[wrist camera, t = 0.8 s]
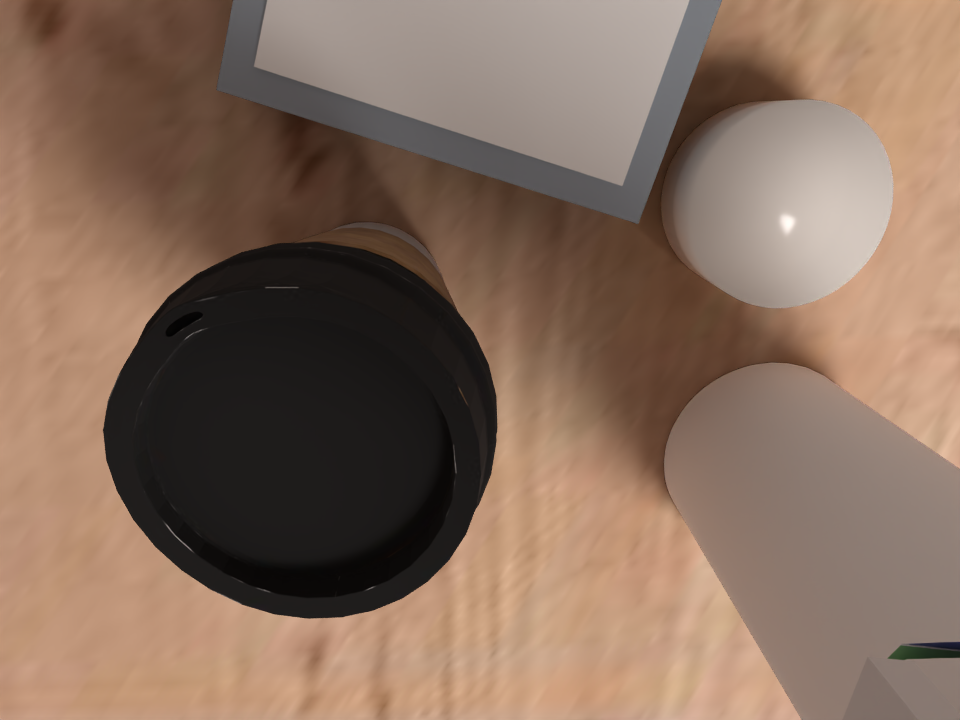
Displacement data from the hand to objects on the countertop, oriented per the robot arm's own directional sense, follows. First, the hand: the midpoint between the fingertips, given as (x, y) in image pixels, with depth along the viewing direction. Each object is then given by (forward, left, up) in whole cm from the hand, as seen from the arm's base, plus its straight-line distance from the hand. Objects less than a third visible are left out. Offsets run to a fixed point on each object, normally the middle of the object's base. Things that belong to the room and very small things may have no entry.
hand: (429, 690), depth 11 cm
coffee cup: (-3, 0, -20) cm, 20 cm away
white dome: (+10, +8, -20) cm, 24 cm away
